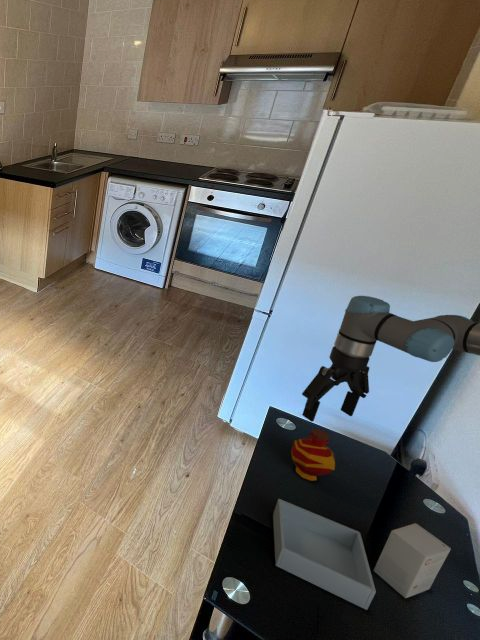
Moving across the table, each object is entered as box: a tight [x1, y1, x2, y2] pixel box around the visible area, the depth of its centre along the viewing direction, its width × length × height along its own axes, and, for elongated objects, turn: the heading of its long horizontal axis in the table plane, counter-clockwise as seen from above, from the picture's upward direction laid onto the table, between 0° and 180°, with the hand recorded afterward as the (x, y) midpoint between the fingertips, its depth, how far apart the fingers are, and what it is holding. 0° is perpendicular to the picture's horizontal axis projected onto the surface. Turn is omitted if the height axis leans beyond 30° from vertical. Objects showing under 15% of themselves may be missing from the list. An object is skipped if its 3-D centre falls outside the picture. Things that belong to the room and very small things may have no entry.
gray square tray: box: [272, 498, 377, 611], centre depth 97 cm, size 16×16×6 cm
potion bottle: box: [290, 428, 336, 482], centre depth 120 cm, size 10×10×15 cm
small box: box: [373, 522, 451, 599], centre depth 92 cm, size 8×6×13 cm
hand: (327, 415), depth 116 cm, fingers open, 13 cm apart
